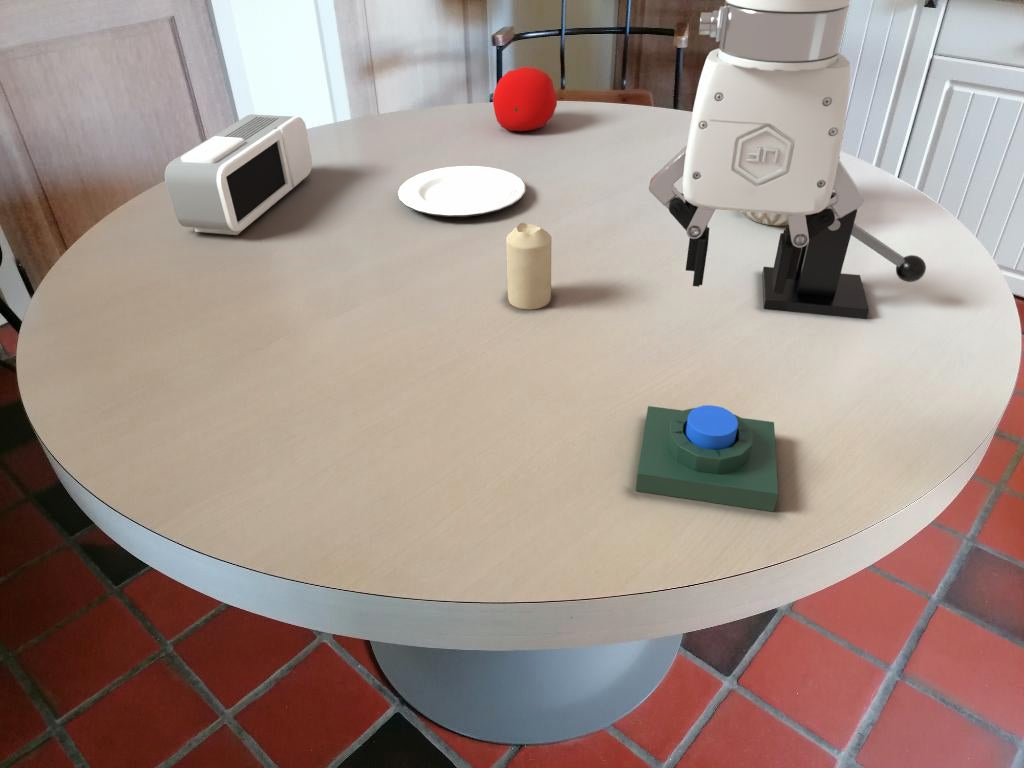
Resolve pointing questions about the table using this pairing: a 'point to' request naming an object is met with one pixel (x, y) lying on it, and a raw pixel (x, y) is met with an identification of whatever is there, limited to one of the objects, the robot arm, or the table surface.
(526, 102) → the tomato
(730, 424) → the button
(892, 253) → the lever
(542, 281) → the candle
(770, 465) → the switch box
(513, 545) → the table surface
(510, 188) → the plate
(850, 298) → the switch bracket
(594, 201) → the table surface
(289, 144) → the alarm clock
